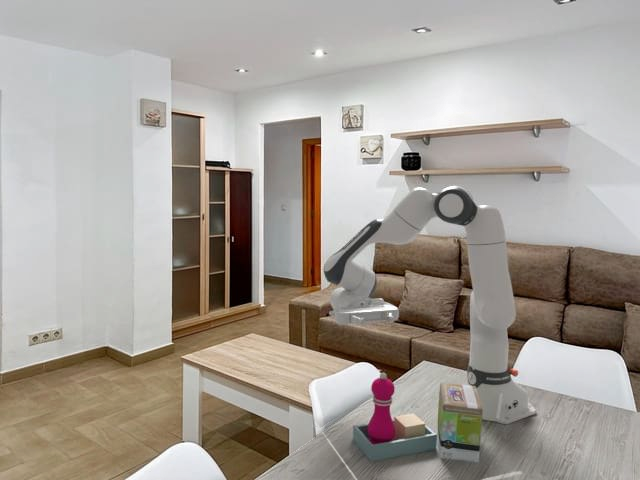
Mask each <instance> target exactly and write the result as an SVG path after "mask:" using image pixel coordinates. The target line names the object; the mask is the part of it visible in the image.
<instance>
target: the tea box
mask: <svg viewBox="0 0 640 480" xmlns="http://www.w3.org/2000/svg"><path fill="white" fill-rule="evenodd" d="M438 397H439V398H438V410H437V412H438V413H437V427H436V428H437V429H436V430H437V443H438V444H437V445H438V454H439V458H440V459H445V460H446V459H447V460H455V461H457V460H458V461H465V462H472V463H480V454H481V453H480V451H481V450H480V449H481V441H482V440H481V438H482V437H481V436H482V426H483V425H482V424H483V419H482V414H483V409H482V405H481V402H480V399H479V396H478V392H477V389H476V386H470V385H467V384H460V383H459V384H458V383H452V382H451V383H450V382H440V383H439V395H438Z"/></svg>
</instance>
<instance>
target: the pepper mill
mask: <svg viewBox="0 0 640 480" xmlns="http://www.w3.org/2000/svg"><path fill="white" fill-rule="evenodd" d="M387 375H388V374H386V372H381V373H380V374H379V377H377V378H376V379H374V381H372V384H371V388H370V390H371V392H372V395H373V396H372V402H373V404H374V412H373V414H372V416H371V418H370V420H369V425H368V434H369V436H370V438H369V441H370V442H371V443H372V444H373V445H374V444H379V443H384V442H390V441H393V439H392V438H393V437H394V436H395V426H394V423H393V420H392V419H393V418H392V415H391V405H392V404H393V395H394V394H395V391H396V390H395V385H394V383H393V381H392V380H391V379H389V378H387V377H388V376H387Z"/></svg>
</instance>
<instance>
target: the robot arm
mask: <svg viewBox="0 0 640 480" xmlns="http://www.w3.org/2000/svg"><path fill="white" fill-rule="evenodd" d="M435 218H439V219H440V220H441V221H443V222H445V223H447V224H451V225H458V226H461V227H463V228H464V230H465V235H466V243H467V245H466V247H467V257H468V258H467V259H468V269H469V270H468V271H469V274H470V279H471V286H472V291H471V293H470V299H469V327H470V329H469V331H470V345H469V346H470V347H469V362H468V363H467V371H466V374H467V375H466V376H467V384H466V385H470V386H476V389H477V392H478V396H479V399H480V402H481V405H482V409H483V414H482V421H483V420H484V421H491V422H495V423H499V424H502V425H509V424H511V423H514V422H516V421H520V420H523V419H525V418H527V417H530V416H533V415H536V414H537V410H536V409H535V407H534V405H532V404H531V403H529V398H528V393H527V392H526V390H525V389H524V388H523V387H522V386H520V385H519V384H518V383H517V382H516V381H514V379H512V376H513V377H515V378H516V377H518V375H519V371H518V370H516V369H515V368H510V367H508V364H509V363H508V361H509V348H510V346H509V337H508V328H509V327H510V326H512V325H513V324H514V322H515V321H516V316H517V312H516V310H517V309H516V305H515V304H516V303H515V298H514V292H513V285H512V280H511V275H510V271H509V263H508V253H507V251H508V250H507V241H506V240H507V239H506V233H505V226H504V222H503V219H502V215H501V212H500V211H499V209H498V208H497V207H494V206H492V205H487V204H484V205H479V204H477V203H476V202H475V201H474V198H473V196H472V194H471V193H470V192H469V190H467V189H466V188H464V187H462V186H459V185H451V186H447V187H445V188H443V189H441V190H440V191H439V192H437V193H433V192H432V191H431V190H429V189H428V188H425V187H415V188H413V189H411V191H410V192H408V193H407V194H406V195H405V196H404V197H403V198H402V199H401V200H400V201H399V202H398V204H396V206H395V207H394V208H393V209H392V211H390V213H389V214H387V215H386V216H384V217H382V218H380V219H373V220H372V221H370V222H369V223H368V224H366V225H365V226H364V227H363V228H362V229H360V230H359V231H358V232H357V234H355V235H354V236H353V237H352V238H350V240H349V241H348V242H347V243H346V244H345V245H344V246H342V247H341V249H339V250H338V251H337V252H335V253H333V254H332V255H331V256H330V257H329V258H328V259H327V260H326V261H325V263H324V266H323V273H324V277H325V279H326V281H327V282H328V283H331V284H333V285H336V286H338V288H335V289H333V290H332V292H331V294H330V295H329V296H330V297H329V302H330V306H331V308H332V310H331V311H329V312H328V315H330V316H331V317H333V321H334V322H335V323H336V324H337V325H340V326H343V325H353V324H354V325H357V326H365V324H366V323H367V324H368V323H377V322H378V323H379V322H387V323H389V324H391V323H394V322H395V321H397V320H399V316H400V315H399V314H400V313H399V308H398V306H395V305H394V304H392V303H390V302H386V301H384V299H383V298H381V297H380V298H379V297H373V295H374V293H375V292H376V289H377V287H378V283H377V274H376V273H375V272H374V271H373V270H372V269H369V268H368V267H367V266H364V265H362V264H360V263H358V262H357V261H355V260H354V259H355V258H357V256H359V254H360V253H362V252H363V251H364V250H365V249H366V248H367V247H368V246H370V245H372V244H377V243H380V244H381V243H382V244H390V245H398V246H402V245H406V244H410V243H411V242H412V241H414V240H415V239H416V238H417V237H418V235H420V233H421V232H422V230H424V228H425V227H426V225H428V223H429V222H430V221H431V220H433V219H435ZM511 375H512V376H511Z"/></svg>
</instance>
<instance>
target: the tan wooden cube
mask: <svg viewBox="0 0 640 480" xmlns="http://www.w3.org/2000/svg"><path fill="white" fill-rule="evenodd" d="M393 419H394V426H395V436H394V437H393V438H394V439H395V440H401V439H406V438H411V437H417V436H422V435H425V425H426V422H424V421H423V420H422V419H421V418H420V417H418V416H417V415H416V414H415V413H407V414H403V415H397V416H394V417H393Z"/></svg>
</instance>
